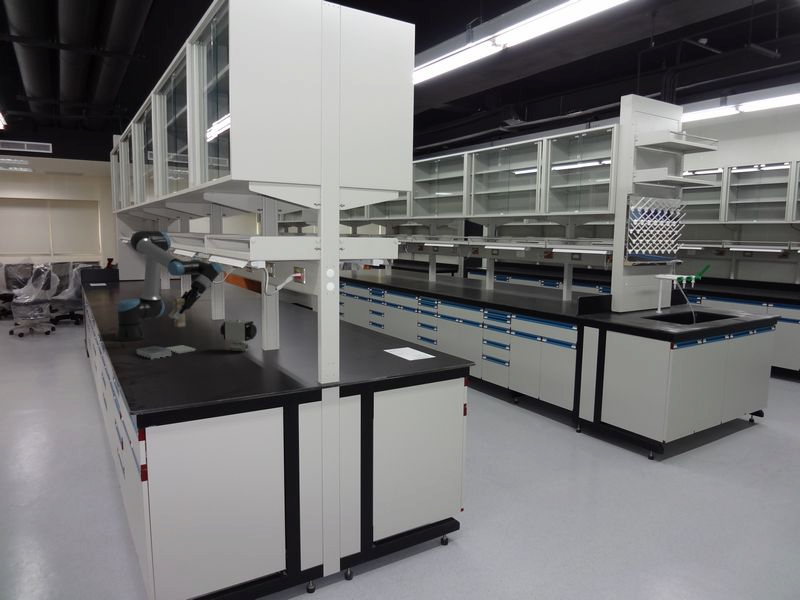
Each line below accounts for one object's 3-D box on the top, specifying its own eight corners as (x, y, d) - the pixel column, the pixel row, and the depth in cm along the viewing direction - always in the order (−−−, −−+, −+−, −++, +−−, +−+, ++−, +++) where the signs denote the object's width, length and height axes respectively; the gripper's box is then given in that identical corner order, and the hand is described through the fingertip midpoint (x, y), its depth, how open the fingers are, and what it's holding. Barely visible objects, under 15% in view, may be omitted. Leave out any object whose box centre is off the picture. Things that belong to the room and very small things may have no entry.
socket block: (136, 354, 265) (136, 348, 265) (156, 351, 273) (156, 345, 273) (151, 359, 255) (150, 353, 255) (171, 356, 263) (171, 350, 263)
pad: (164, 349, 278) (164, 347, 278) (182, 346, 285) (182, 345, 285) (177, 353, 269) (177, 351, 269) (195, 350, 276) (195, 348, 276)
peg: (174, 326, 275) (173, 298, 273) (181, 325, 278) (180, 298, 276) (178, 327, 273) (177, 299, 271) (185, 326, 276) (184, 298, 274)
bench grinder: (258, 350, 280) (258, 318, 278) (250, 353, 272) (249, 320, 270) (229, 348, 284) (228, 316, 282) (220, 351, 276) (219, 318, 274)
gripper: (213, 290, 279) (185, 323, 269) (197, 288, 290) (170, 320, 280) (204, 281, 275) (175, 314, 264) (188, 279, 286) (159, 311, 275)
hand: (172, 317), depth 272 cm, fingers closed on peg, 4 cm apart
